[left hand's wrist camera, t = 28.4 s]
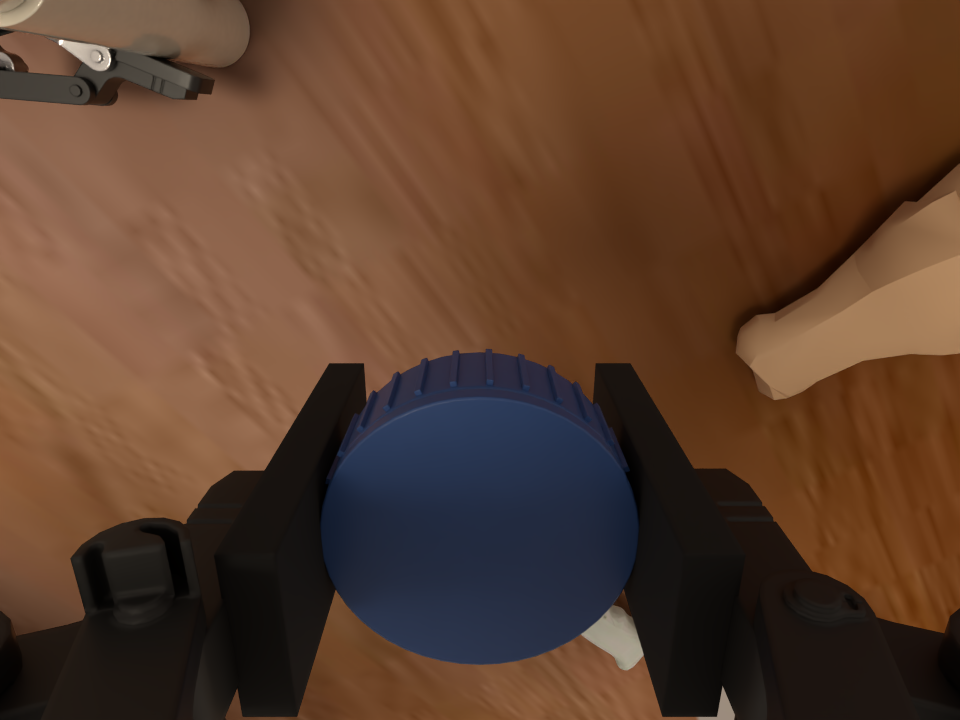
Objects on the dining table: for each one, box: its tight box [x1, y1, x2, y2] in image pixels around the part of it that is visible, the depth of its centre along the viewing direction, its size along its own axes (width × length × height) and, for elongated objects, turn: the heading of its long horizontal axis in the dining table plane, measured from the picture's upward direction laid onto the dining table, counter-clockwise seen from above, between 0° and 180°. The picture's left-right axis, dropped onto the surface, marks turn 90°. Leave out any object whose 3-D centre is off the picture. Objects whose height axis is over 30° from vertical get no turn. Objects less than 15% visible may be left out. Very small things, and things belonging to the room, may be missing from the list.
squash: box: [736, 163, 960, 400], centre depth 36 cm, size 11×20×9 cm, turn 126°
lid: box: [320, 349, 639, 665], centre depth 11 cm, size 5×5×2 cm
